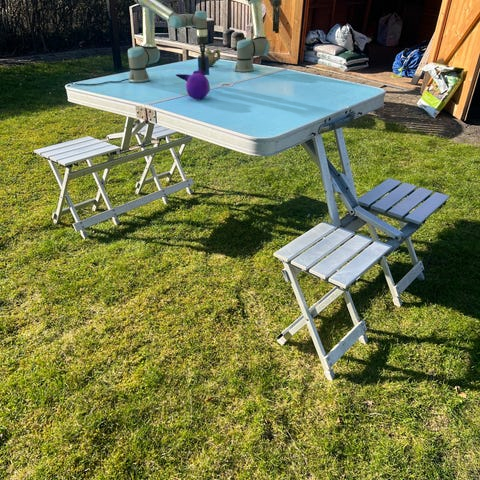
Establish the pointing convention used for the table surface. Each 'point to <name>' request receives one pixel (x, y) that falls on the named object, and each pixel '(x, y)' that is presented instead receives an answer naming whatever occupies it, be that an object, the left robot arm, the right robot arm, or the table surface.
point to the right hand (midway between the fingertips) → (275, 32)
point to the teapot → (212, 56)
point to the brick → (205, 64)
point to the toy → (196, 84)
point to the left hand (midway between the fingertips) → (203, 71)
